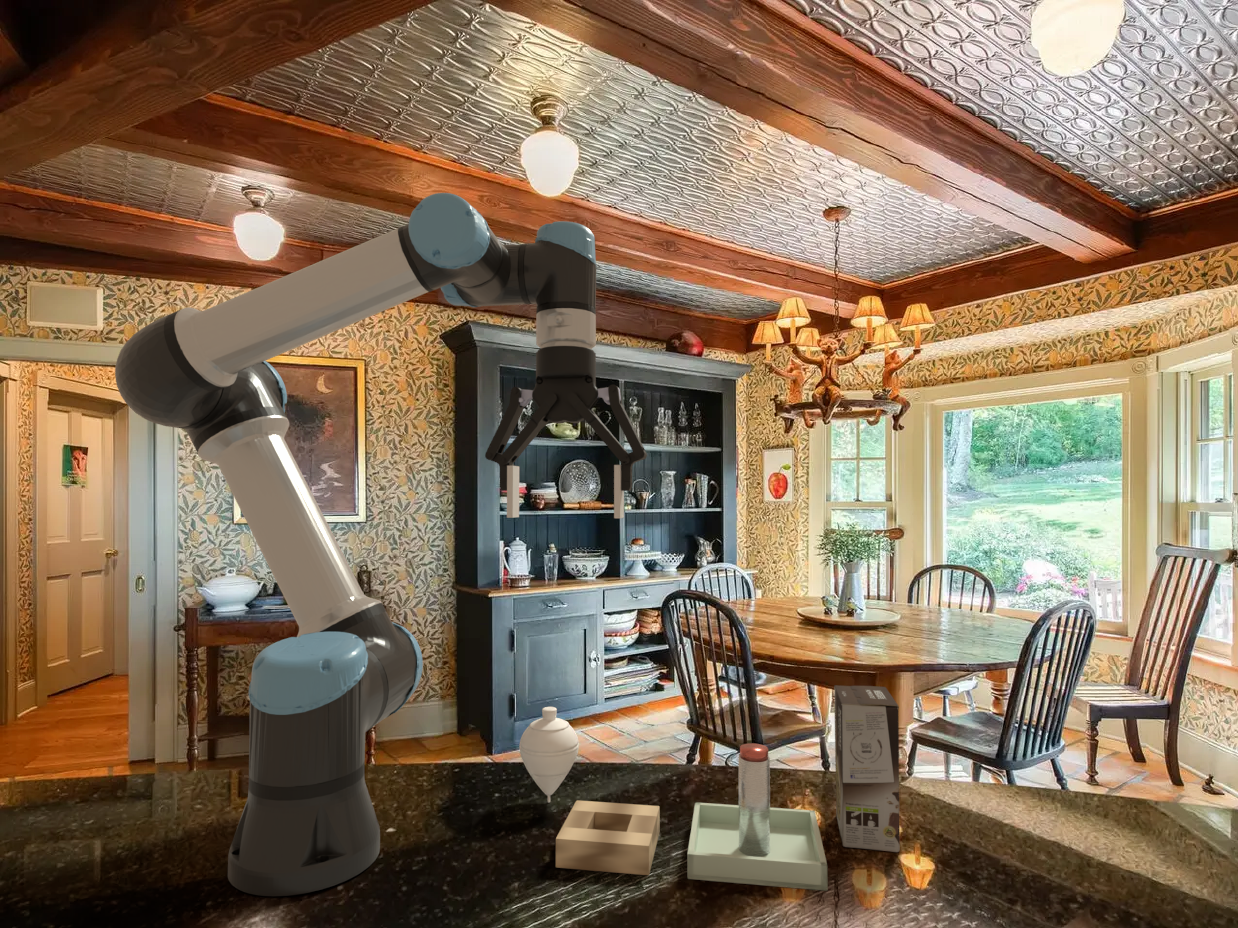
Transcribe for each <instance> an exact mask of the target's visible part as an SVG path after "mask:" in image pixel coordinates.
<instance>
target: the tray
mask: <svg viewBox="0 0 1238 928" xmlns="http://www.w3.org/2000/svg"><path fill="white" fill-rule="evenodd" d="M825 853H826V852H825V849H824V846H823V839H822V837H821V831H820V828H819V823H818V820H817V815H816V810H812V809H811V810H809V809H797V808H781V807H770V853H769V854H768V855H766V856H762V857H754V856H748V855H745V854H743V853H742V852H741V851H740V850H739V804H727V803H726V804H722V803H710V802H709V803H707V802H697V801H696V802H695V803H694V808H693V815H692V821H691V830H690V835H689V841H688V847H687V859H686V861H687V865H686V866H687V879H688V880H700V881H709V882H721V883H733V884H746V885H757V886H767V887H779V888H780V887H781V888H789V889H790V888H792V889H803V890H814V891H824V892H825V891H827V892H828V889H829V888H828V863H827V858H826V855H825Z"/></svg>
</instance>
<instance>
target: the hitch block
mask: <svg viewBox="0 0 1238 928" xmlns="http://www.w3.org/2000/svg"><path fill="white" fill-rule="evenodd" d="M660 811H661V810H660V806H659V805H650V804H649V805H648V804H633V803H622V802H621V803H619V802H604V801H591V800H576V801H575V802H574V804H573V806H572V808H571V809H570V812H569V813H568V815H567V817H566V819H565V820H564V823H562V826H561V828H560V830H559V832H558V834H557V836H556V838H555V868H560V869H571V870H582V871H594V872H606V873H616V874H617V873H618V874H628V875H630V874H631V875H639V876H640V875H643V876H650V873H651V869H652V864H653V861H654V857H655V852H656V848H657V844H658V840H659V836H660V832H661V831H660V830H661V829H660V828H661V827H660V824H661V823H660V822H661V821H660V819H661V818H660V816H661V815H660V814H661V813H660Z"/></svg>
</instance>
